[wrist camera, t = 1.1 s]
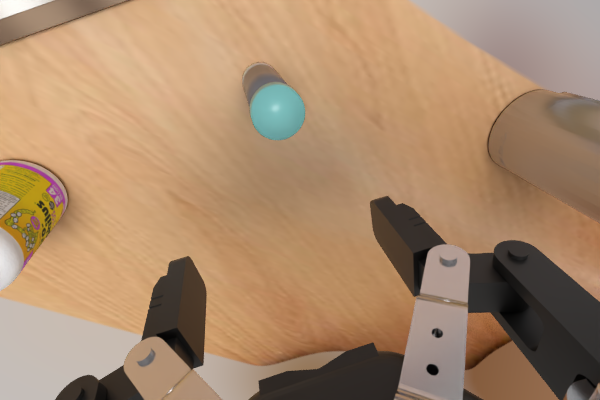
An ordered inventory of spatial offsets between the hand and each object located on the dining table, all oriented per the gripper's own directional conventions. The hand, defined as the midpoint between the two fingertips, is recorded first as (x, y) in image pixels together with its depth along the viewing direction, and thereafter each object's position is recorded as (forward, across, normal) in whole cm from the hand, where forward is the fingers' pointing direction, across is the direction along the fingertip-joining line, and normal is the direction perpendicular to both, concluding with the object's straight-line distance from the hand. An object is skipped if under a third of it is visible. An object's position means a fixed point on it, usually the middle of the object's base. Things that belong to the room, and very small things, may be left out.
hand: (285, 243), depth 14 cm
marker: (+19, -2, -3) cm, 19 cm away
